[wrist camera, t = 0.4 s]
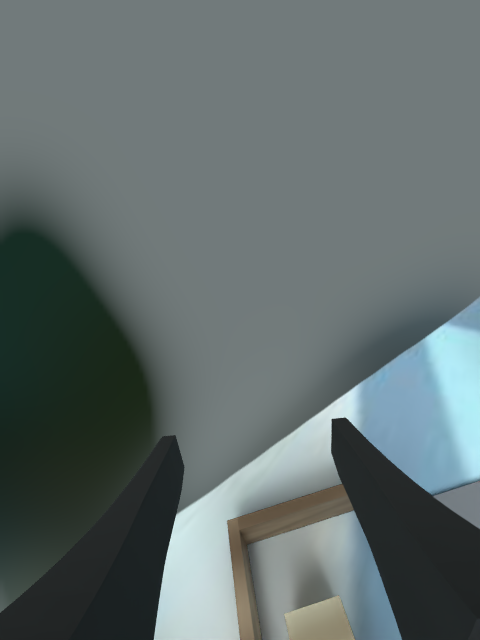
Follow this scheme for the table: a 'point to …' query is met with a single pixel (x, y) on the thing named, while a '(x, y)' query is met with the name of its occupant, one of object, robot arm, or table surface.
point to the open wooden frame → (268, 526)
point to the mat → (464, 502)
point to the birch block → (319, 622)
